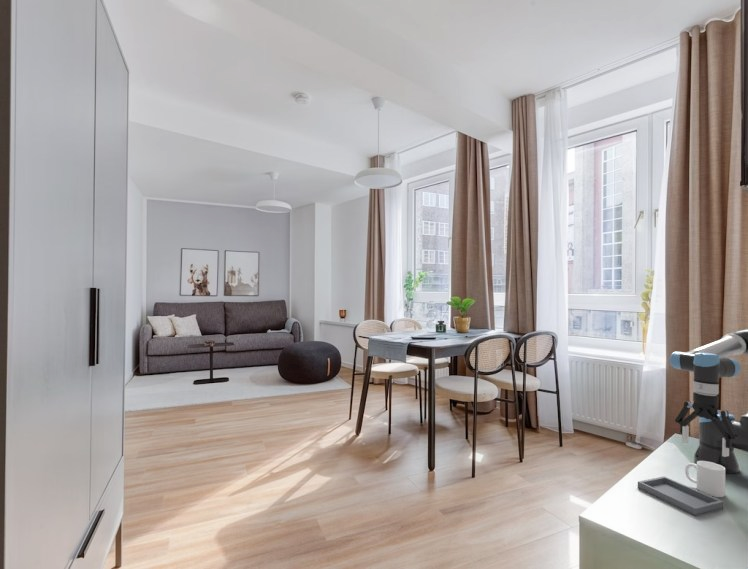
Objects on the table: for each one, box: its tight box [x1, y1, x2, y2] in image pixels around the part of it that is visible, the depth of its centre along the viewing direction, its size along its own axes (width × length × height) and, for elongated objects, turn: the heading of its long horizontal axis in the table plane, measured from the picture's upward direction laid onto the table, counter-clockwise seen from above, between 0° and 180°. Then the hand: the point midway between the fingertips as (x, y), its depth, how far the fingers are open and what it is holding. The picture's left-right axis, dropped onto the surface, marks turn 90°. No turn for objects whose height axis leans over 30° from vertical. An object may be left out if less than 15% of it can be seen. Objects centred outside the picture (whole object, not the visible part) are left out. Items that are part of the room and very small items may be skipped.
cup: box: [685, 461, 726, 498], centre depth 152 cm, size 8×12×10 cm
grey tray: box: [637, 476, 725, 517], centre depth 145 cm, size 15×20×2 cm
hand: (704, 449), depth 152 cm, fingers open, 13 cm apart
